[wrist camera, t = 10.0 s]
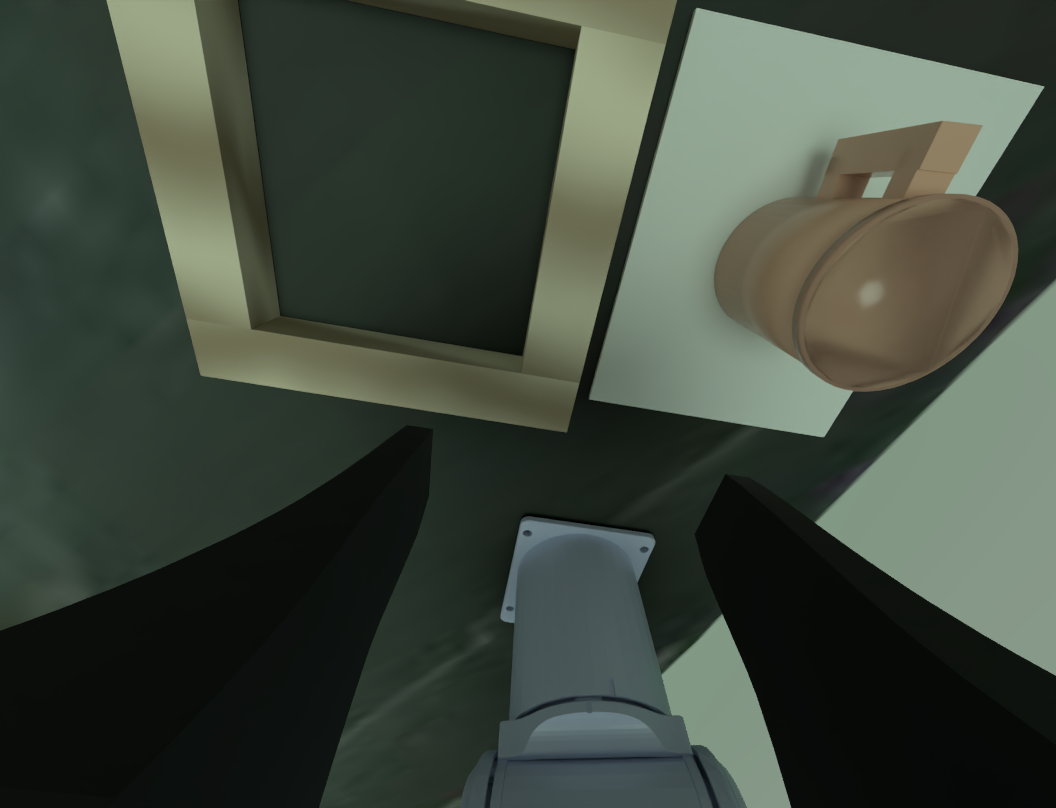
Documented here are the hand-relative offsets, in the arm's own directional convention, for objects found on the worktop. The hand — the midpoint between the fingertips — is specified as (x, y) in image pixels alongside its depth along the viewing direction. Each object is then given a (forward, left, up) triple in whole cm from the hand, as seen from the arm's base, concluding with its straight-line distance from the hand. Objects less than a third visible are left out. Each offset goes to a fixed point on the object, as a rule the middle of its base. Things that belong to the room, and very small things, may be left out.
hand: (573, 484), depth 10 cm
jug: (+5, -8, -9) cm, 13 cm away
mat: (+5, -8, -9) cm, 13 cm away
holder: (+5, +7, -9) cm, 13 cm away
